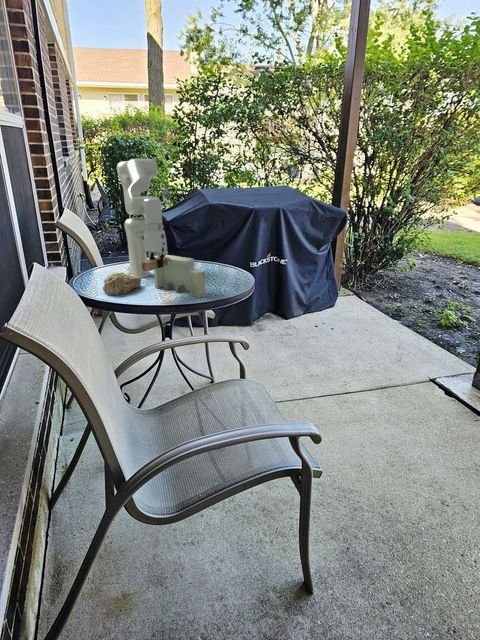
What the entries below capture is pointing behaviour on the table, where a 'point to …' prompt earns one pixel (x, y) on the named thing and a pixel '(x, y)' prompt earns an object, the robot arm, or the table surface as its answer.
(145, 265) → the walnut batten
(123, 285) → the rock
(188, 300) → the table surface
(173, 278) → the shelter
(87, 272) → the table surface
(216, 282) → the table surface
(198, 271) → the skincare box
